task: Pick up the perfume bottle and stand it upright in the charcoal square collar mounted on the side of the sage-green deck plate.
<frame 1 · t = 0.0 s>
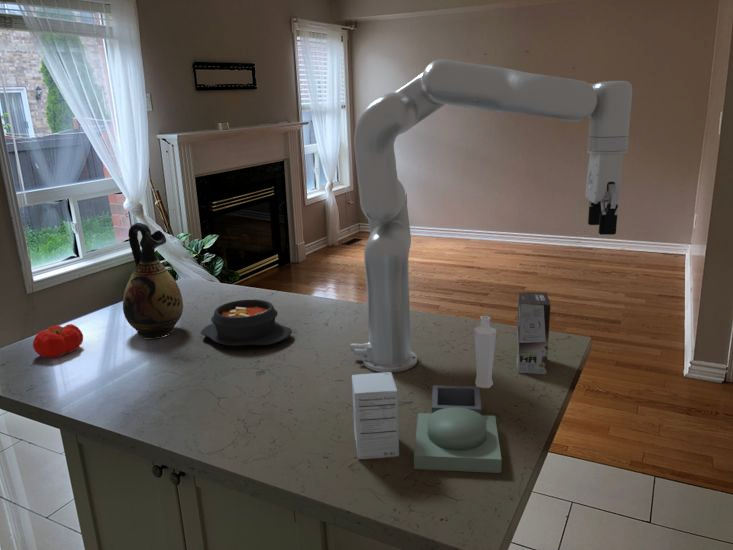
hand: (601, 229, 125), 31 cm above the worktop, tool pointing down, fingers open, 9 cm apart
supplement box: (376, 448, 105), on the worktop
coffee box: (530, 366, 135), on the worktop
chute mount: (456, 415, 115), on the worktop
tomato: (61, 353, 152), on the worktop
perfume bottle: (483, 384, 127), on the worktop
ceramic jug: (155, 332, 164), on the worktop
casserole: (246, 338, 157), on the worktop
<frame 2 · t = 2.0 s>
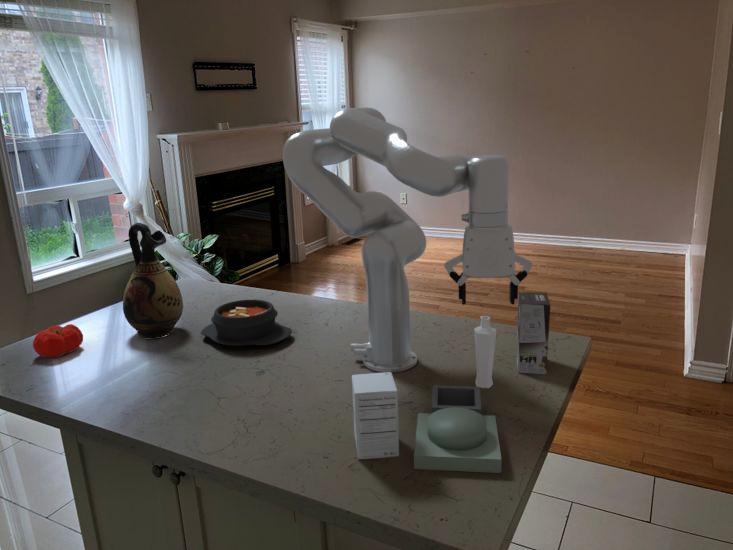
hand: (487, 302, 122), 18 cm above the worktop, tool pointing down, fingers open, 9 cm apart
nothing on the worktop moved.
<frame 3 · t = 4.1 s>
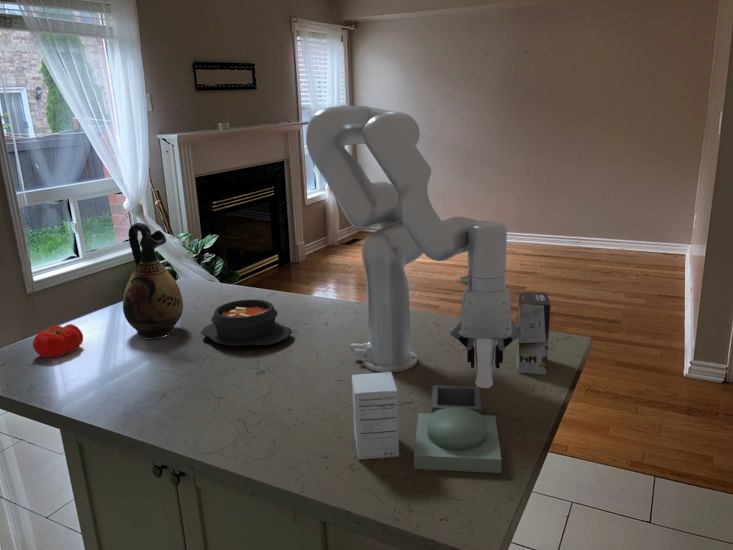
hand: (484, 364, 126), 4 cm above the worktop, tool pointing down, fingers closed on perfume bottle, 4 cm apart
perfume bottle: (483, 384, 127), on the worktop, touching gripper
everything else where it was.
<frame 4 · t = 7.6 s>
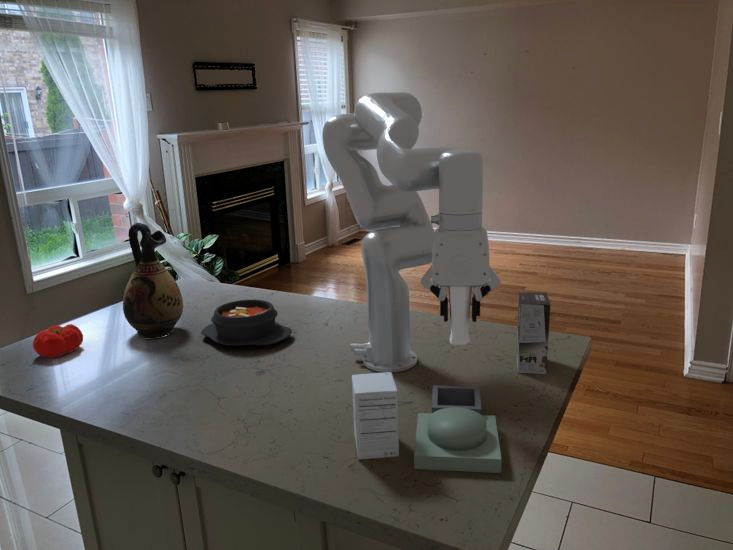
hand: (459, 318, 110), 19 cm above the worktop, tool pointing down, fingers closed on perfume bottle, 4 cm apart
perfume bottle: (459, 341, 111), point 15 cm above the worktop, touching gripper
everything else where it was.
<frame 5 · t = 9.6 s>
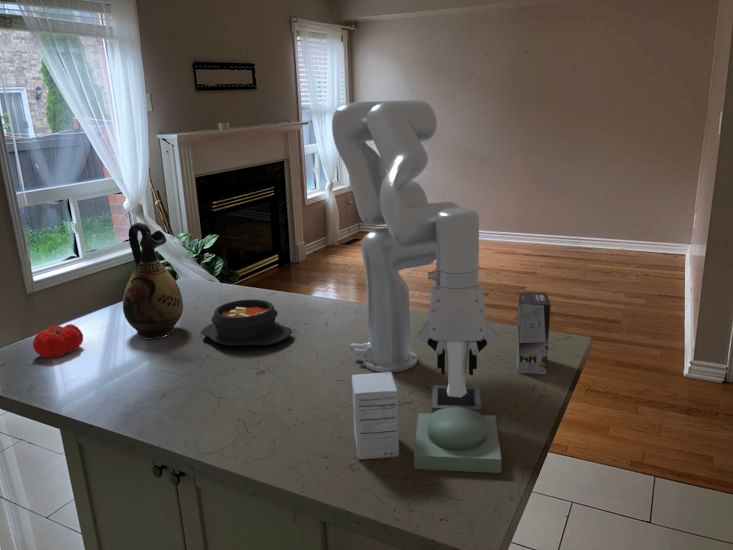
hand: (456, 371, 112), 9 cm above the worktop, tool pointing down, fingers closed on perfume bottle, 4 cm apart
perfume bottle: (456, 393, 113), point 5 cm above the worktop, touching gripper
everything else where it was.
when the fingers open (5 cm above the worktop, at t = 11.2 s): perfume bottle drops 1 cm, resting in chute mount.
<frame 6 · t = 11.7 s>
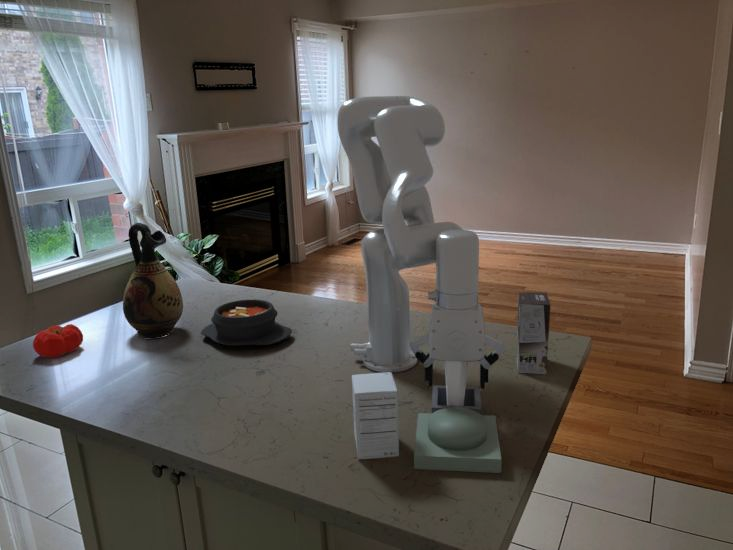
hand: (456, 384, 113), 7 cm above the worktop, tool pointing down, fingers open, 9 cm apart
perfume bottle: (455, 416, 115), resting in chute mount
everything else where it was.
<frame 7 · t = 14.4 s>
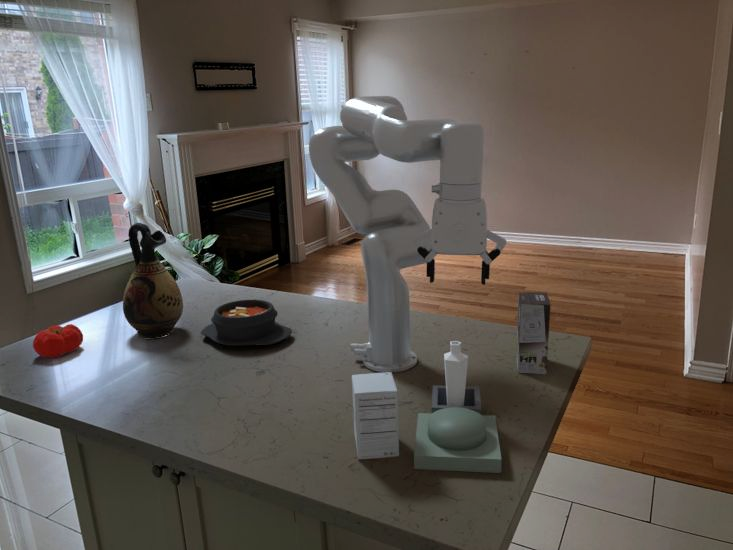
hand: (457, 281, 114), 25 cm above the worktop, tool pointing down, fingers open, 9 cm apart
nothing on the worktop moved.
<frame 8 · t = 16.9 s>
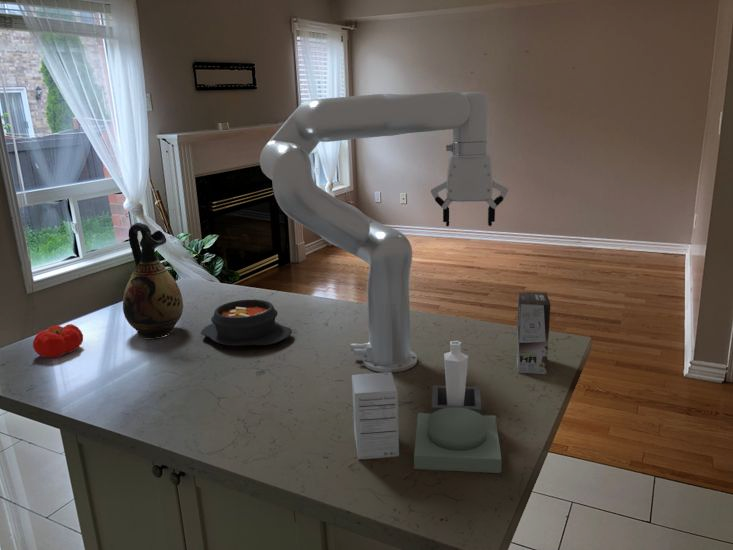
hand: (468, 225, 138), 30 cm above the worktop, tool pointing down, fingers open, 9 cm apart
nothing on the worktop moved.
at the end: perfume bottle 0.3 cm off-centre on the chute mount, point 0.0 cm above the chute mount's base; perfume bottle tilted 0°; the gripper is holding nothing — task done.
